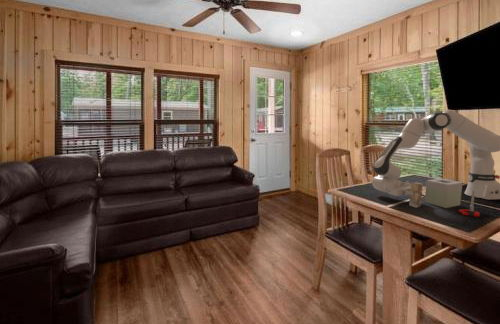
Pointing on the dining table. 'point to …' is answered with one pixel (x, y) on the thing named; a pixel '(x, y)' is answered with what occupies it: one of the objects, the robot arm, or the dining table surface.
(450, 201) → the white tissue box
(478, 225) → the dining table surface
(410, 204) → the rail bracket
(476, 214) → the red base grey post
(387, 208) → the dining table surface
